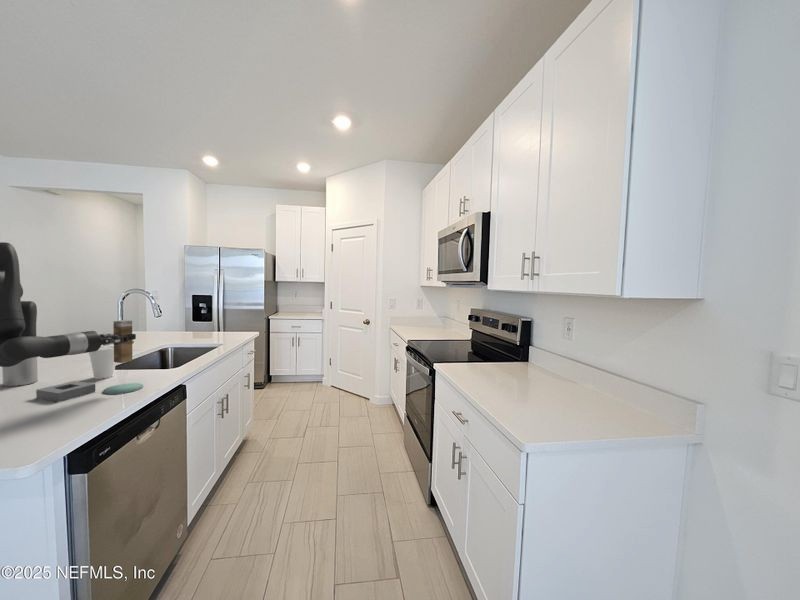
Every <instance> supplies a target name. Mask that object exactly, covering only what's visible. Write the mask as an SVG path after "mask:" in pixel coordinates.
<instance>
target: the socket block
mask: <svg viewBox="0 0 800 600" xmlns="http://www.w3.org/2000/svg"><path fill="white" fill-rule="evenodd" d="M95 391H96V383H90V382H84V381H78V380H73V381H68V382H64V383H60V384H56V385H51V386H47V387H42V388H39V389H36V391H35V393H36V394H35V396H36V399H39V398H41V399H40V400H45V399H46V400H47V401H52V402H59V401H60V402H62V401H66V400H71V399H73V398H78V397H81V396H85V395H89V394H92V393H96V392H95ZM91 392H92V393H91ZM88 393H89V394H88ZM84 394H85V395H84ZM80 395H81V396H80ZM77 396H78V397H77ZM60 402H59V403H60Z"/></svg>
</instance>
